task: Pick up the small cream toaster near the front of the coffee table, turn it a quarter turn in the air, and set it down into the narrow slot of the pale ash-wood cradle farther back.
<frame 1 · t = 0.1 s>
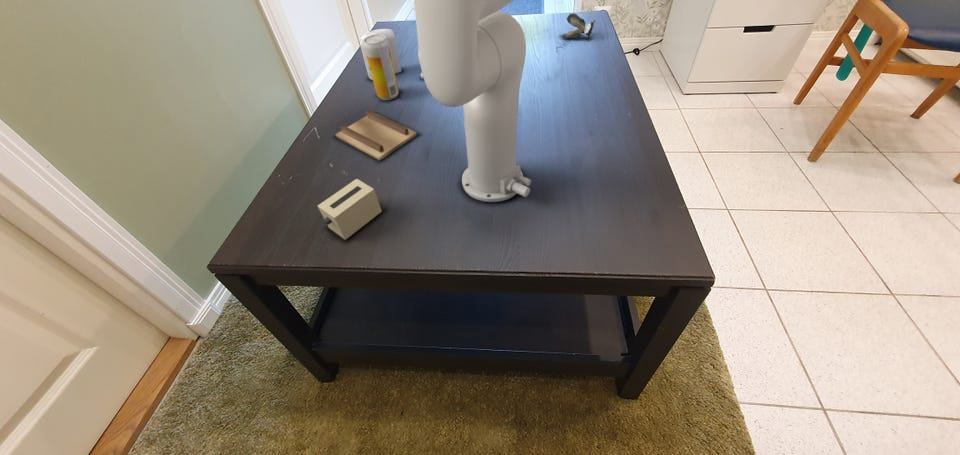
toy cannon: (445, 74, 110), on the table
vase: (441, 44, 124), on the table
white curved piece: (385, 75, 111), on the table
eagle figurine: (577, 37, 123), on the table
cradle: (376, 136, 90), on the table
beer can: (388, 96, 103), on the table
toaster: (355, 219, 72), on the table
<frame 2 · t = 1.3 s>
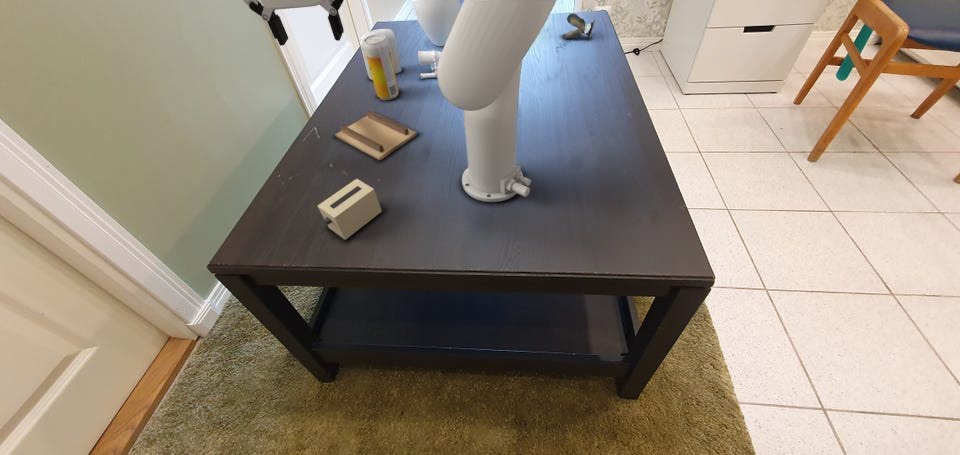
hand: (311, 40, 66), 26 cm above the table, tool pointing down, fingers open, 9 cm apart
nothing on the table moved.
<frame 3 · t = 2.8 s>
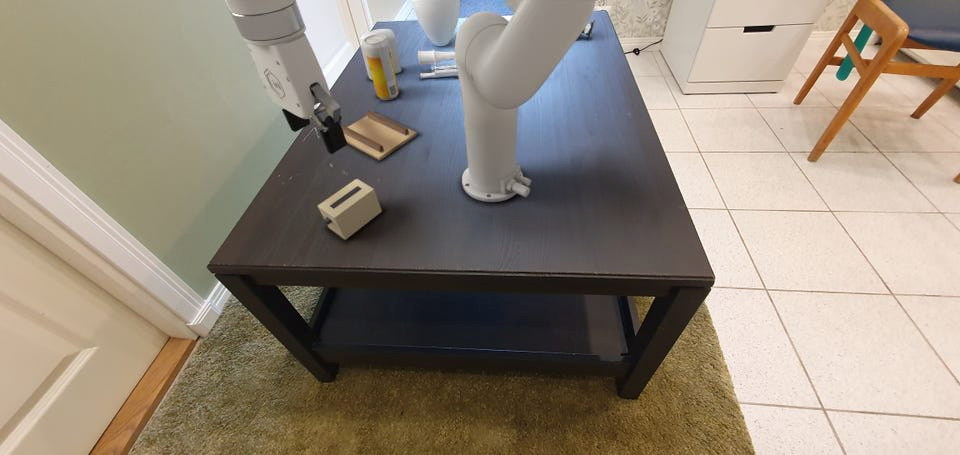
hand: (319, 137, 59), 18 cm above the table, tool pointing down, fingers open, 9 cm apart
nothing on the table moved.
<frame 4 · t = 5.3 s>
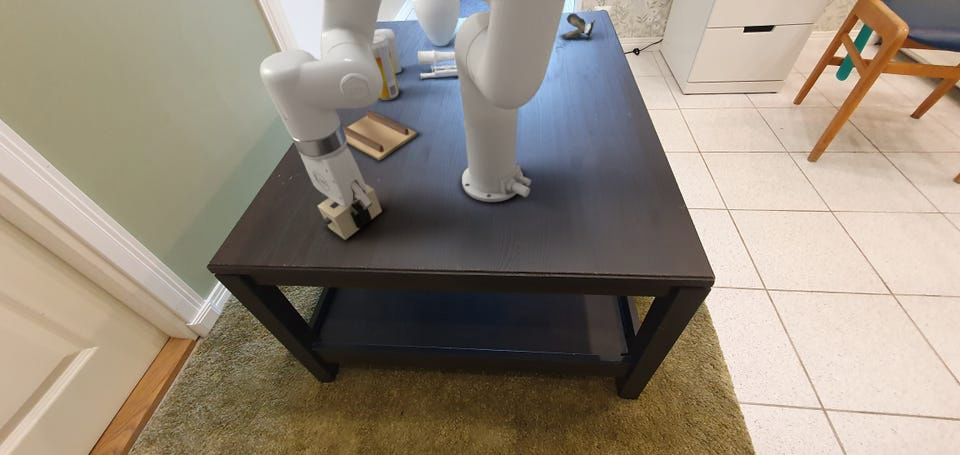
hand: (354, 216, 71), 1 cm above the table, tool pointing down, fingers closed on toaster, 5 cm apart
toaster: (355, 219, 72), on the table, touching gripper
everything else where it was.
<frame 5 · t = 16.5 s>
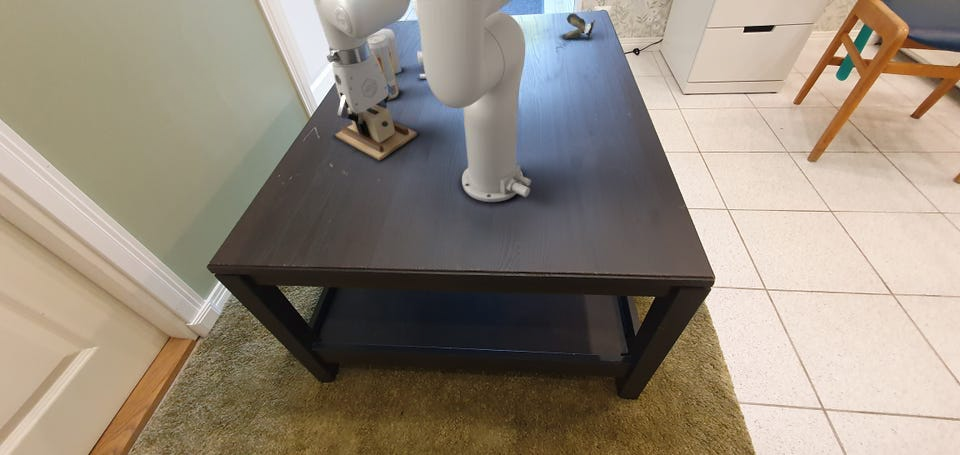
hand: (374, 128, 89), 2 cm above the table, tool pointing down, fingers closed on toaster, 5 cm apart
toaster: (375, 131, 89), point 1 cm above the table, touching gripper
everything else where it was.
when the fingers open (3 cm above the table, at t = 22.8 s): toaster drops 1 cm, resting on cradle.
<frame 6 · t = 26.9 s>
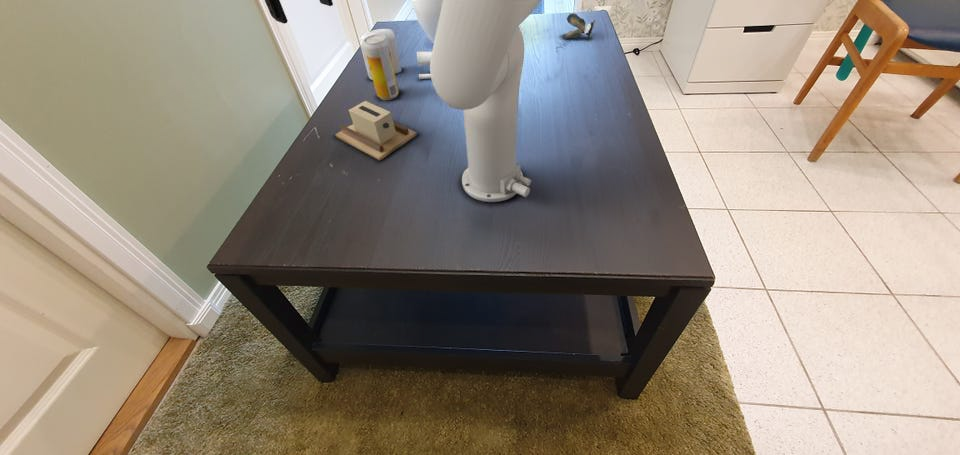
hand: (305, 12, 68), 28 cm above the table, tool pointing down, fingers open, 9 cm apart
toaster: (376, 133, 90), point 1 cm above the table, touching cradle
everything else where it was.
at the end: toaster 0.2 cm off-centre on the cradle, point 0.8 cm above the cradle's base; toaster tilted 0°; the gripper is holding nothing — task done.
